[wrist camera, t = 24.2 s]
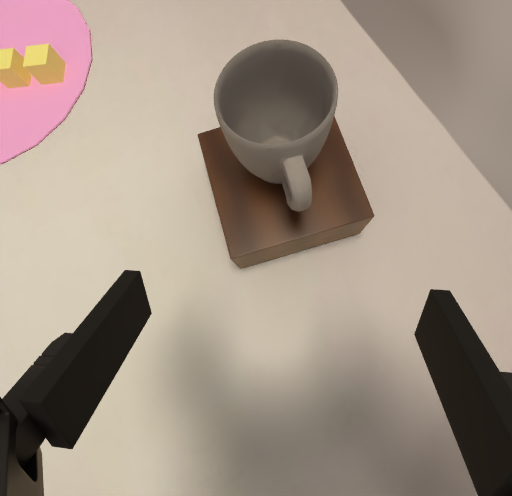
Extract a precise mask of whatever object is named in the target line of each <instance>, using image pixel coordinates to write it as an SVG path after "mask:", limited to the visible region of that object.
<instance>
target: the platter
mask: <svg viewBox="0 0 512 496" xmlns="http://www.w3.org/2000/svg"><path fill="white" fill-rule="evenodd" d="M91 61H92V51H91V38H90V30H89V29H88V27H87V25H86V23H85V21H84V19H83V17H82V15H81V13H80V11H79V9H78V8H77V7H76V6H75V5H73V4H72V3H71V2H70V1H68V0H0V164H2V163H5V162H7V161H9V160H10V159H12V158H14V157H16V156H18V155H20V154H22V153H23V152H25V151H27V150H29V149H31V148H33V147H34V146H36V145H38V144H39V143H40V142H41V141H42V140H43V139H44V138H45V137H46V136H47V135H49V134H50V133H51V132H52V131H53V130H54V129H55V128H56V127H57V126H58V125H59V124H60V123H61V122H63V121H64V120H65V118H66V117H67V115H68V114H69V112H70V110H71V109H72V107H73V106H74V104H75V102H76V101H77V99H78V98H79V96H80V95H81V93H82V91H83V90H84V87H85V83H86V79H87V76H88V72H89V69H90V65H91Z"/></svg>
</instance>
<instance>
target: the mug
mask: <svg viewBox="0 0 512 496" xmlns="http://www.w3.org/2000/svg"><path fill="white" fill-rule="evenodd" d="M337 98H338V84H337V79H336V76H335V73H334V71H333V69H332V67H331V66H330V64H329V63H328V62H327V60H326V59H325V58H324V57H323V56H322V55H321V54H320V53H318V52H317V51H316V50H314V49H313V48H311V47H309V46H307V45H305V44H302V43H299V42H295V41H290V40H269V41H264V42H260V43H257V44H254V45H252V46H250V47H247V48H246V49H244V50H242V51H241V52H239V53H238V54H237V55H235V56H234V57H233V58H232V59H231V60H230V61H229V62H228V63H227V64H226V66H225V67H224V68H223V70H222V72H221V73H220V75H219V77H218V80H217V82H216V86H215V90H214V106H215V111H216V115H217V118H218V121H219V124H220V127H221V129H222V132H223V134H224V136H225V139H226V141H227V143H228V145H229V146H230V148H231V150H232V152H233V153H234V155H235V156H236V157H237V159H238V160H239V161H240V163H241V164H242V165H243V166H244V167H245V168H246V169H247V170H249V171H250V172H251V173H252V174H254V175H256V176H257V177H259V178H261V179H263V180H264V181H266V182H269V183H274V184H282V185H283V188H284V192H285V195H286V200H287V204H288V205H289V207H290V208H291V209H292V210H295V211H298V212H299V211H303V210H306V209H308V208H309V207H310V206H311V203H312V186H311V179H310V176H309V173H308V170H307V168H308V167H309V166H310V165H311V164H312V163H313V161H314V160H315V159H316V157H317V156H318V154H319V153H320V151H321V149H322V147H323V145H324V143H325V141H326V139H327V136H328V134H329V131H330V128H331V125H332V122H333V118H334V114H335V110H336V106H337Z"/></svg>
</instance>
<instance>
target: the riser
mask: <svg viewBox="0 0 512 496" xmlns="http://www.w3.org/2000/svg"><path fill="white" fill-rule="evenodd" d="M198 138H199V142H200V146H201V149H202V153H203V157H204V161H205V164H206V168H207V172H208V176H209V179H210V183H211V187H212V191H213V194H214V198H215V202H216V206H217V209H218V213H219V217H220V221H221V224H222V228H223V232H224V236H225V239H226V243H227V247H228V251H229V254H230V258H231V259H232V261H233V262H234V263H235V264H236V265H237V266H238V267H239V268H240V269H242V268H245V267H248V266H252V265H255V264H258V263H262V262H265V261H269V260H272V259H275V258H279V257H282V256H285V255H289V254H292V253H295V252H299V251H302V250H305V249H309V248H312V247H316V246H319V245H322V244H326V243H329V242H332V241H336V240H339V239H342V238H346V237H349V236H353V235H356V234H359V233H360V232H361V231H362V230H363V229H364V228H365V226H366V225H367V224H368V223H369V222H370V221H371V219H372V218H373V217H374V214H373V211H372V209H371V206H370V204H369V201H368V199H367V196H366V194H365V191H364V189H363V186H362V184H361V181H360V179H359V176H358V174H357V171H356V169H355V166H354V164H353V161H352V159H351V156H350V154H349V151H348V149H347V147H346V144H345V142H344V139H343V137H342V134H341V132H340V129H339V127H338V124H337V122H336V119H335V117H334V118H333V122H332V125H331V128H330V131H329V134H328V136H327V139H326V141H325V143H324V145H323V147H322V149H321V151H320V153H319V154H318V156H317V157H316V159H315V160H314V161H313V163H312V164H311V165H310V166H309V167H308V168H307V170H308V173H309V176H310V179H311V186H312V203H311V206H310V207H309V208H308V209H306V210H303V211H299V212H298V211H295V210H292V209H291V208H290V207H289V205H288V204H287V200H286V195H285V192H284V188H283V185H282V184H274V183H269V182H266V181H264V180H263V179H261V178H259V177H257V176H256V175H254V174H252V173H251V172H250V171H249V170H247V169H246V168H245V167H244V166H243V165H242V164H241V163H240V161H239V160H238V159H237V157H236V156H235V155H234V153H233V152H232V150H231V148H230V146H229V145H228V143H227V141H226V139H225V136H224V134H223V132H222V129H221V127H219V128H216V129H213V130H210V131H206V132H203V133H200V134H198Z"/></svg>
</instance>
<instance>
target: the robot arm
mask: <svg viewBox="0 0 512 496" xmlns="http://www.w3.org/2000/svg"><path fill="white" fill-rule="evenodd" d="M151 314H152V313H151V309H150V305H149V302H148V298H147V294H146V291H145V287H144V284H143V280H142V276H141V273H140V271H131V270H125V271H124V272H123V273H122V274H121V276H120V277H119V278H118V279H117V280H116V282H115V283H114V284H113V285H112V287H111V288H110V289H109V290H108V291H107V293H106V294H105V295H104V296H103V297H102V299H101V300H100V301H99V302H98V304H97V305H96V306H95V307H94V308H93V310H92V311H91V312H90V313H89V314H88V316H87V317H86V318H85V319H84V321H83V322H82V323H81V324H80V325H79V327H78V328H77V329H76V330H75V331H74V333H64V334H63V335H61V336H60V337H58V338H57V339H56V340H54V341H53V342H52V343H51V344H50V345H49V346H48V347H47V348H46V349H45V351H44V352H43V353H42V355H41V356H39V357H38V359H37V360H36V361H35V362H34V365H31V367H30V368H29V369H28V370H27V371H26V372H25V373H24V375H23V376H22V377H21V378H20V379H19V380H18V382H17V383H16V384H15V385H14V386H13V387H12V388H11V390H10V391H9V392H8V393H7V394H6V395H5V396H4V398H3V399H1V397H0V496H44V488H43V466H42V452H41V449H40V445H41V444H42V442H43V441H44V439H45V438H46V439H47V440H48V441H49V443H50V444H51V446H53V447H60V448H67V449H73V447H74V445H75V444H76V442H77V440H78V439H79V437H80V435H81V434H82V432H83V430H84V428H85V427H86V425H87V423H88V422H89V420H90V418H91V416H92V415H93V413H94V411H95V410H96V408H97V406H98V404H99V403H100V401H101V399H102V398H103V396H104V394H105V392H106V391H107V389H108V387H109V386H110V384H111V382H112V380H113V379H114V377H115V375H116V374H117V372H118V370H119V368H120V367H121V365H122V363H123V362H124V360H125V358H126V356H127V355H128V353H129V351H130V350H131V348H132V346H133V344H134V343H135V341H136V339H137V338H138V336H139V334H140V332H141V331H142V329H143V327H144V326H145V324H146V322H147V320H148V319H149V317H150V315H151ZM414 335H415V337H416V340H417V342H418V345H419V347H420V350H421V352H422V355H423V358H424V360H425V363H426V365H427V368H428V370H429V373H430V375H431V378H432V380H433V383H434V385H435V388H436V390H437V393H438V395H439V398H440V401H441V403H442V406H443V408H444V411H445V413H446V416H447V418H448V421H449V423H450V426H451V428H452V431H453V433H454V436H455V438H456V441H457V444H458V446H459V449H460V451H461V454H462V456H463V459H464V461H465V464H466V466H467V469H468V471H469V474H470V476H471V479H472V481H473V484H474V487H475V489H476V492H477V494H478V496H512V373H509V372H500V371H499V370H498V368H497V366H496V365H495V363H494V361H493V360H492V358H491V357H490V355H489V353H488V352H487V350H486V348H485V347H484V345H483V344H482V342H481V340H480V339H479V337H478V336H477V334H476V332H475V331H474V329H473V327H472V326H471V324H470V323H469V321H468V319H467V318H466V316H465V314H464V313H463V311H462V310H461V308H460V306H459V305H458V303H457V302H456V300H455V298H454V297H453V295H452V293H451V292H450V291H449V290H433V289H431V290H430V292H429V295H428V298H427V301H426V303H425V306H424V309H423V312H422V315H421V317H420V320H419V323H418V326H417V328H416V331H415V334H414Z"/></svg>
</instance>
